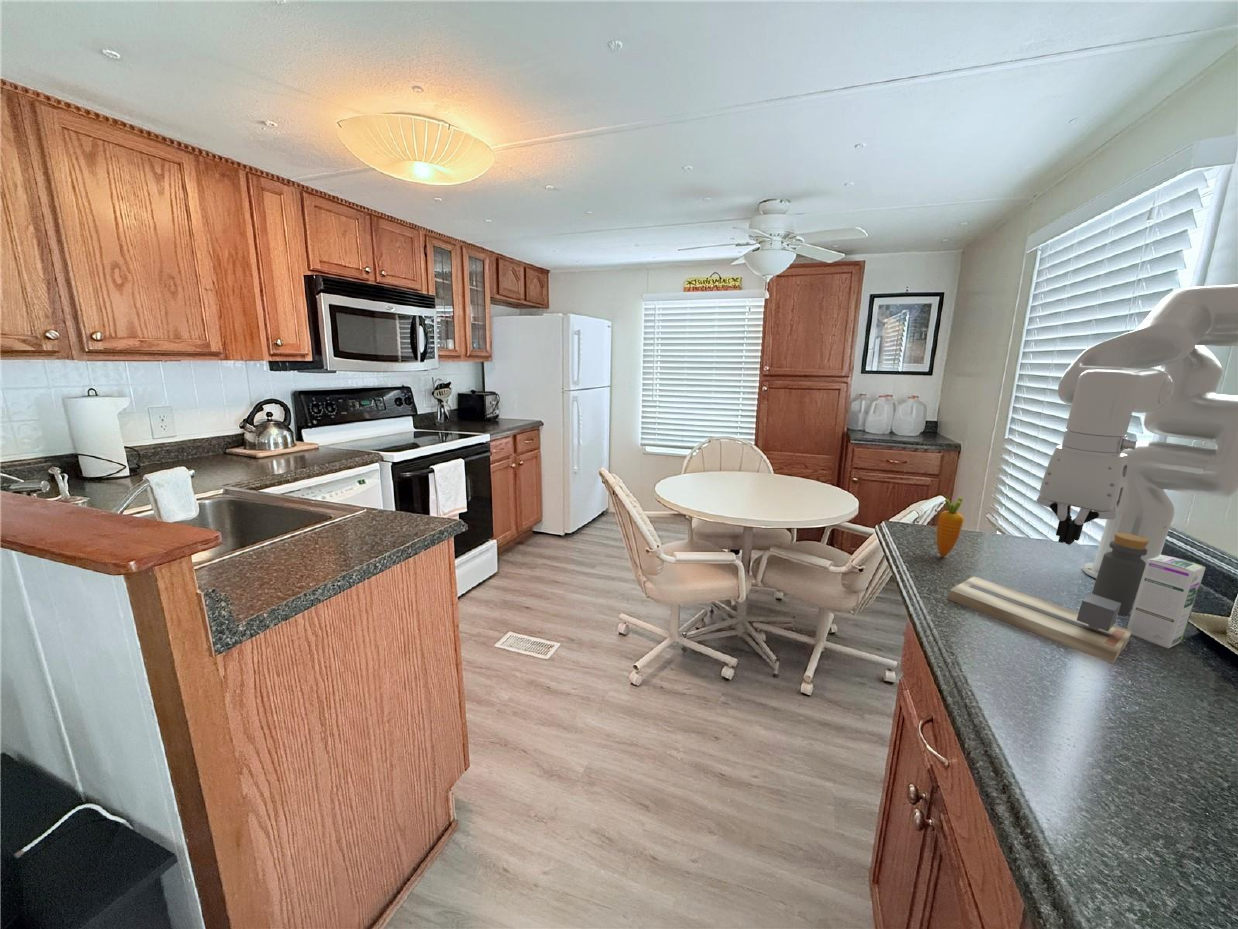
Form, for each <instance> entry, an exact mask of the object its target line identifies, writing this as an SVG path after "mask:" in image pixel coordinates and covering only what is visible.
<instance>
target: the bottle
mask: <svg viewBox="0 0 1238 929" xmlns="http://www.w3.org/2000/svg"><path fill="white" fill-rule="evenodd" d="M1148 543H1149V541H1148V540H1147V539H1145V538H1142V537H1139V536H1136V535H1131V534H1126V533H1115V534H1114V541H1111V542H1110V545H1109V546H1110V548H1112V552H1107V553H1105V554H1104V556H1103V559H1102V562H1101V565H1100V569H1099V572H1098V575H1097V578H1096V579H1095V582H1094V584H1093V589H1092V593H1091V594H1094V595H1097V596H1100V597H1104V598H1107V599H1110V600H1113V601H1116V602H1119V603H1121V606H1120V609H1119V612H1118V616H1120V615H1121V616H1128V615H1129V616H1130V615H1131V612H1132V609H1133V605H1134V602H1135V599H1136V595H1137V592H1138V588H1139V585H1140V582H1141V579H1142V576H1143V572H1144V569H1145V566H1146V563H1145V562H1144V561H1143V560H1142V559H1141V556H1144V555H1146V554H1147V549H1145V547H1146V546H1147V544H1148Z"/></svg>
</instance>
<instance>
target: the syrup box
mask: <svg viewBox="0 0 1238 929" xmlns="http://www.w3.org/2000/svg"><path fill="white" fill-rule="evenodd" d="M1205 570H1206V566H1204V565H1203V564H1198V563H1196V562H1194V561H1193V562H1192V561H1189V560H1188V559H1187V560H1186V559H1183V558H1179V557H1175V556H1169V555H1165V554H1162V553H1161V555H1159V556H1157V557H1153V558H1151V559H1148V560H1147V562H1146V566H1145V569H1144V572H1143V576H1142V579H1141V582H1140V585H1139V589H1138V591H1137V594H1136V597H1135V600H1134V603H1133V606H1132V609H1131V612H1130V614H1129V619H1128V622H1127V626H1126V629H1128V630H1131V631H1132V634H1131V636H1135V637H1137V638H1139V639H1142V640H1144V641H1146V642H1148V643H1149V642H1150V643H1151V644H1153V645H1154V644H1155V645H1157V646H1159V647H1163V648H1166V649H1171V648H1172V647H1174V646H1176V645H1178V644H1179V643H1181V642H1183V639H1184V635H1185V632H1186V629H1187V627H1188V622H1189V620H1190V618H1191V614H1192V611H1193V608H1194V605H1195V601H1196V600H1197V595H1198V593H1199V590H1200V587H1201V583H1202V580H1203V577H1204V574H1205V572H1206V571H1205Z"/></svg>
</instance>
